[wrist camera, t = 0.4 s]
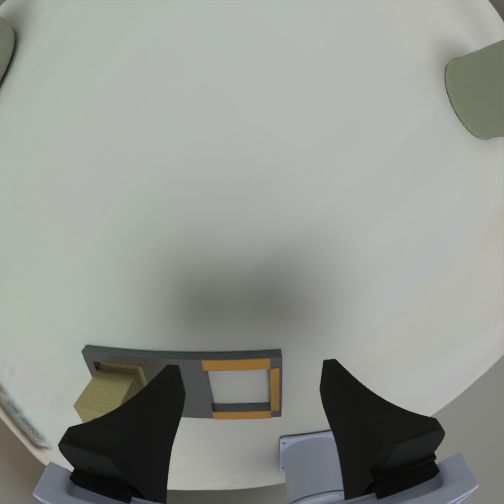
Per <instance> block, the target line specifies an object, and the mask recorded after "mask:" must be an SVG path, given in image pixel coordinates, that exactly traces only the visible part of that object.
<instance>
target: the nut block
mask: <svg viewBox="0 0 504 504" xmlns="http://www.w3.org/2000/svg"><path fill="white" fill-rule="evenodd" d="M146 385H147V381H146V378H145V375H144V372H143V370H142V367H137V366H127V365H118V364H109V363H103V364H102V365H101V366H100V368H99V369H98V371H97V372H96V373H95V375H94V376H93V378H92V379H91V381H90V382H89V384H88V385H87V386H86V388H85V389H84V391H83V392H82V394H81V395H80V397H79V398H78V400H77V401H76V403H75V404H74V408H75V410H76V411H77V413H78V415H79V416H80V418H81V419H82V421H83V423H86V422H88V421H91V420H94V419H96V418H98V417H101V416H103V415H105V414H107V413H109V412H110V411H112V410H114V409H116V408H118V407H119V406H121V405H122V404H124V403H125V402H127V401H128V400H129V399H131V398H132V397H133V396H135V395H136V394H137V393H138V392H139V391H140V390H142V389H143V388H144V387H145V386H146Z"/></svg>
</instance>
